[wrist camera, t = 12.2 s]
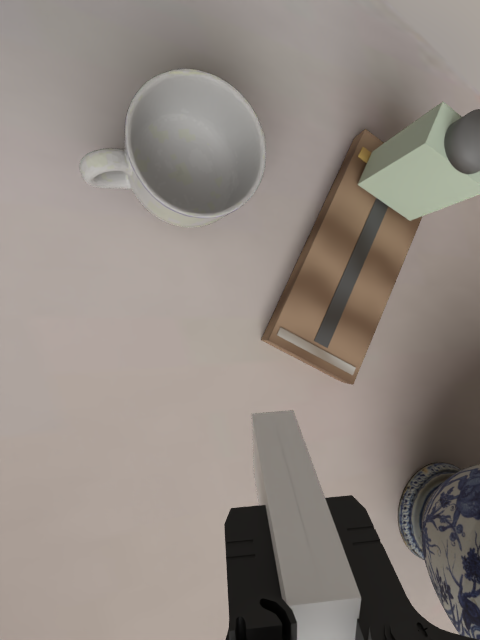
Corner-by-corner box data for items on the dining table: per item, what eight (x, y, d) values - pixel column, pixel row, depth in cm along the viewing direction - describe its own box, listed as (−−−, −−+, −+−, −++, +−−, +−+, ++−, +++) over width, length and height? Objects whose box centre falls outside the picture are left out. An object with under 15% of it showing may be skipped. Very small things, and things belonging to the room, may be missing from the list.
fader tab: (409, 222, 41) (505, 186, 31) (356, 186, 39) (440, 135, 29) (423, 187, 41) (523, 140, 31) (373, 149, 40) (460, 87, 29)
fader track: (342, 382, 41) (353, 384, 39) (260, 339, 38) (269, 340, 36) (422, 188, 44) (437, 181, 42) (353, 138, 42) (366, 128, 40)
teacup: (232, 126, 38) (261, 74, 30) (243, 238, 38) (275, 214, 30) (77, 117, 34) (66, 54, 26) (90, 243, 34) (82, 217, 26)
